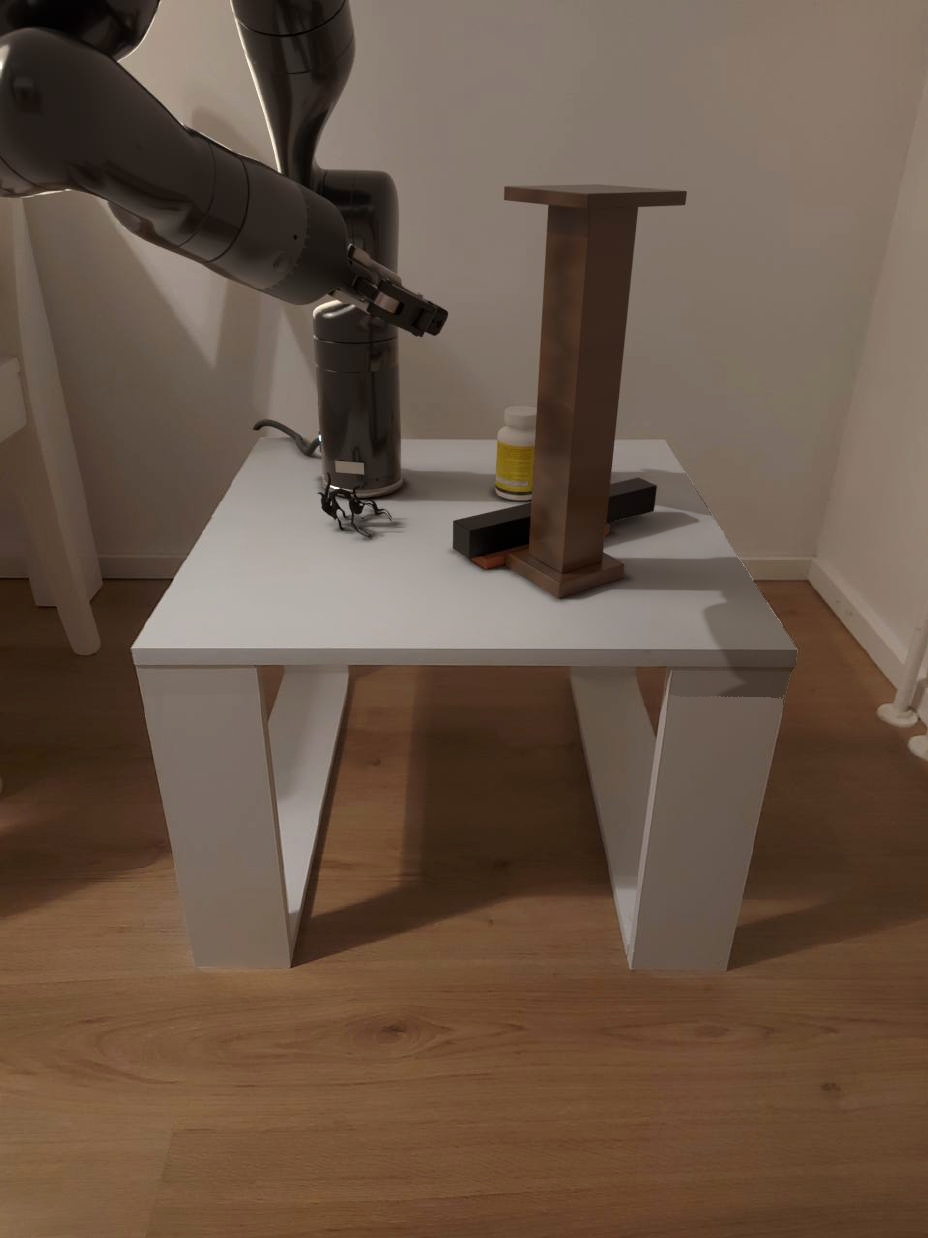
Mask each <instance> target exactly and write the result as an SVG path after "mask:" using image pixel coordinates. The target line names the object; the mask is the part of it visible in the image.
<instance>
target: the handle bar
mask: <svg viewBox="0 0 928 1238" xmlns="http://www.w3.org/2000/svg"><path fill="white" fill-rule="evenodd" d="M657 490H658V485H657V484H655V483H652V482H650V481H648V480H645V479H643V478H641V477H634V478H630V479H626V480H621V481H616V482H613V483H610V491H609V501H608V511H607V520H606V524H611V523H614V522H619V521H622V520H625V519H629V518H630V519H631V518H633V517H637V516H641V515H645V514H649V513H652V512H653V513H654V512H655V505H656V497H657ZM531 504H532V501H530V502H527V503H523V504H518V505H515V506H509V507H505V508H501V509H497V510H493V511H488V512H484V513H480V514H476V515H475V514H474V515H472V516H467V517H463V518H459V519H454V520H452V549H453V550H454V551H456V552H457V553H459V555H462V556H463V557H465V559H468V560H471V559H473V558H477V557H480V556H484V555H488V554H492V553H496V552H500V551H503V550H507V549H511V548H515V547H519V546H523V545H526V544H529V540H530V522H531Z"/></svg>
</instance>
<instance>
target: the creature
mask: <svg viewBox="0 0 928 1238" xmlns="http://www.w3.org/2000/svg"><path fill="white" fill-rule="evenodd" d="M327 474H328V484H327V486H326V488H325V489H324V493H323V492H322V491H319V492H316V494H317V495H320V497H321V498H320V504H321V510H322V511H323V512H324V513H325V514H326V515H327V516H330V517H331V518H332V519H333V520H334V521H335V522H336V521H337V522H338V529H339V530H341V531H344V530H346V529H349V530H350V528H349V527H347V526H346V527H343V525H342V520H341V519H340V518H339V516H338V510H340V512H341V513H342V517H343V518H344V519H348V518H350V517H351V518H350V525H351V526H352V529H353V530H354V531H356V532H357V533H358V534H359V535H362V536H364V537H367V538H371V537H372V535H371V534H370V533H369V532H367V531H366V530H364V528H362V527H361V526H359V527H357V526H356V524H355V523H354V522H355V521H354V520H355V516H357V517H358V518H360V519H362V520H364V519H365V518H367V517H369V516H375V515H376V516H380V515H383V514H385V516H386V517H387V518H388V519H389V521H391V522H392V521H393V517H392V514H390V512H389V511H388V509H386V508H379V507H378V504H377V503H376V502H375V501H374V500H373V499H367V500H365V501H362V500H361V499H362V498H361V497H360V498H358V497H357V495H356V493H357V492H358V491H357V492H356V490H357V489H358V488H359V487H360V486H355V487H354V488H353V493H352V492H350V491H347V490H345V489H341V488H338V489H336V490H334V491H332V492H328V491H329V488H330V485H331V477H330V474H329V473H328V472H327ZM367 483H368V482H367ZM367 483H366V484H367ZM366 484H364V485H363V486H362V487H361V488H363V489H364V487H365V485H366ZM361 488H360V489H361ZM362 491H363V490H362ZM337 494H343V495H344V496H343V497H345V498H346V499H347V501H348V509H349V510H350V514H349V515H346V511H345V510H344V509H343V508H342V507H341V505H340V504H339V502H338V501H337V498H336V496H338V495H337ZM351 494H353V495H354V497H355V498H354V497H352V496H351ZM361 495H362V494H361ZM366 505H367V506H368V507H370V508H372V509H373V512H374V513H373V514H368V515H365V516H363V517H361V516H359V515H361V514H363V511H364V508H365V506H366ZM385 511H386V512H385ZM360 530H362V532H361V531H360ZM363 532H364V533H366V534H367V535H366V534H364V533H363Z"/></svg>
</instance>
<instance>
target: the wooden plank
mask: <svg viewBox="0 0 928 1238" xmlns="http://www.w3.org/2000/svg"><path fill="white" fill-rule="evenodd" d="M610 528H611V525H610V523H607V524H606V530H605V536H606V535H609V534H610V530H611V529H610ZM528 546H529V544H526V545H523V546H519V547H515V548H511V549H507V550H503V551H500V552H496V553H492V554H488V555H484V556H480V557H477V558H473V559H470V561H472V562H474V563H476V564H477V565H478V566H480V567H482V568H483V569H485V570H488V569H492V568H495V567H499V566H502V565H506V557H507V552H511V551H514V550H518V549H521V548H525V547H528Z"/></svg>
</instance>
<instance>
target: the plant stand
mask: <svg viewBox="0 0 928 1238" xmlns="http://www.w3.org/2000/svg"><path fill="white" fill-rule="evenodd" d="M687 195H688V191H687V190H678V189H666V188H653V187H639V186H624V185H613V184H612V185H611V184H597V183H596V184H554V185H553V184H551V185H547V184H545V185H506V186H505V185H504V188H503V201H507V202H516V203H518V202H519V203H526V204H527V203H528V204H535V205H544V206H545V205H546V206H547V220H546V236H545V252H544V253H545V255H544V271H543V273H544V274H543V288H542V289H543V290H542V309H541V327H540V345H539V360H538V362H539V363H538V379H537V398H536V399H537V400H536V408H537V414H536V432H535V450H534V468H533V486H532V499H531V502H532V504H531V522H530V540H529V546H528V547H525V548H521V549H518V550H514V551H511V552H507V557H506V563H505V567H506V568H508V569H510V570H512V571H513V572H515V573H517V574H518V575H520V576H521V577H523V578H524V579H526V580H528V581H529V582H531V583H533V584H534V585H536V586H538V587H539V588H540V589H542V590H544V591H545V592H548V594H550V595H552V596H554V597H555V598H557V599H562V598H564V597H568V596H571V595H575V594H577V593H580V592H583V591H586V590H590V589H592V588H595V587H599V586H602V585H604V584H605V585H606V584H609V583H612V582H614V581H617V580H620V579H623V578H624V576H625V568H626V567H625V566H626V563H625V562H623V561H621V560H619V559H617V558H616V557H614V556H612V555H609V554H608V553H606V552H604V548H605V541H606V540H605V539H606V535H605V530H606V520H607V511H608V501H609V491H610V484H611V481H612V470H613V461H614V460H613V459H614V451H615V450H614V449H615V443H616V442H615V441H616V430H617V422H618V411H619V401H620V393H621V392H620V390H621V383H622V382H621V381H622V371H623V361H624V352H625V344H626V343H625V342H626V331H627V322H628V314H629V313H628V312H629V303H630V292H631V285H632V273H633V265H634V264H633V262H634V253H635V245H636V235H637V234H636V233H637V224H638V215H639V208H651V207H652V208H653V207H677V206H678V207H679V206H680V207H681V206H686V205H687Z"/></svg>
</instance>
